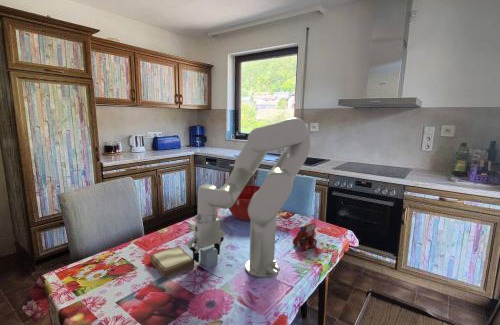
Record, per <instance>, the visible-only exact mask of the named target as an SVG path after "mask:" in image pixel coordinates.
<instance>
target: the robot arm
mask: <svg viewBox="0 0 500 325" xmlns="http://www.w3.org/2000/svg"><path fill="white" fill-rule="evenodd" d="M283 148H284V149H283ZM280 149H283V151H282V152H281V154H280V155H279V157H278V159H277V161H275V164H274V165H273V167H272V168H271V169H270V170H269V171H268V172H267V174H266V176H265V178H264V180H263V182H262V184H261V186H260V188H259V190H258V191H257V192H255V193H254V195H253V196H252V198H251V201H250V203H249V206H248V215H249V218H250V219H251V221H250V229H249V230H250V232H249V235H250V236H249V260H247V261H246V262H245V267H244V268H245V271H246V272H247V273H248V274H249V275H251V276H252V277H256V278H269V277H272V276H274V277H277V276H278V275H279V272H280V271H281V267H278V264H277V260H276V259H275V246H276V244H275V243H276V227H277V226H276V222H277V214H278V213H279V211H280V210H281V208H282V207H283V205H284V204H285V203H286V202H287V200H288V199H289V196H290V195H291V193H292V192H293V186H294V180H295V178H296V176H297V175H298V173H299V171H300V170H301V168H302V167H303V165H304V164H305V162H306V160H307V158H308V156H309V153H310V150H311V137H310V133H309V130H308V126H307V124H306V123H305V121H304V120H302V119H301V118H300V117H290V118H287V119H283V120H280V121H278V122H274V123H271V124H270V123H269V124H266V125H263V126H258V127H255V128H253V129H252V130H251V131H250V132H249V134H248V136H247V140H246V142H245V144H244V146H243V147H242V148H241V150H240V152H239V154H238V155H237V157H236V158H235V161H234V167H233V169H232V171H231V172H230V175H229V176H228V178H227V180H226V181H225V183H224V184H223V185H222V187H221V188H218V187H216V186H215V185H213V184H202V185H201V184H200V186H199V187H198V188H197V214H196V216H194V220H195V224H194V230H193V237H192V238H191V239H190V240H189V241H187V242H186V246H187V247H188V249H189V250H190V251H191V252H192V258H193V259H194V262H195V263H199V262H200V253H199V252H200V249H201V248H205V247H208V246H211V245H212V246H213V247H214V248H216V249H217V250H218V256H219V255H220V250H221V245H222V242H223V241H224V240H225V239H224V238H225V236H226V232H225V231H223V230H221V223H220V218H219V217H218V208H219V209H222V210H225V209H228V210H229V208H230V207H232V206H233V205H234V203H235V201H236V200H237V198H238V197H239V195H240V193H241V192H242V190H243V188H244V187H245V185H248V183H249V180H250V179H251V178H252V176H254V175H255V173H256V171H257V170H258V168H259V167H260V165H261V164H262V162H263V161H264V159H265V157H266V156H267V155H268V153H269V152H272V151H277V150H280Z"/></svg>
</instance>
